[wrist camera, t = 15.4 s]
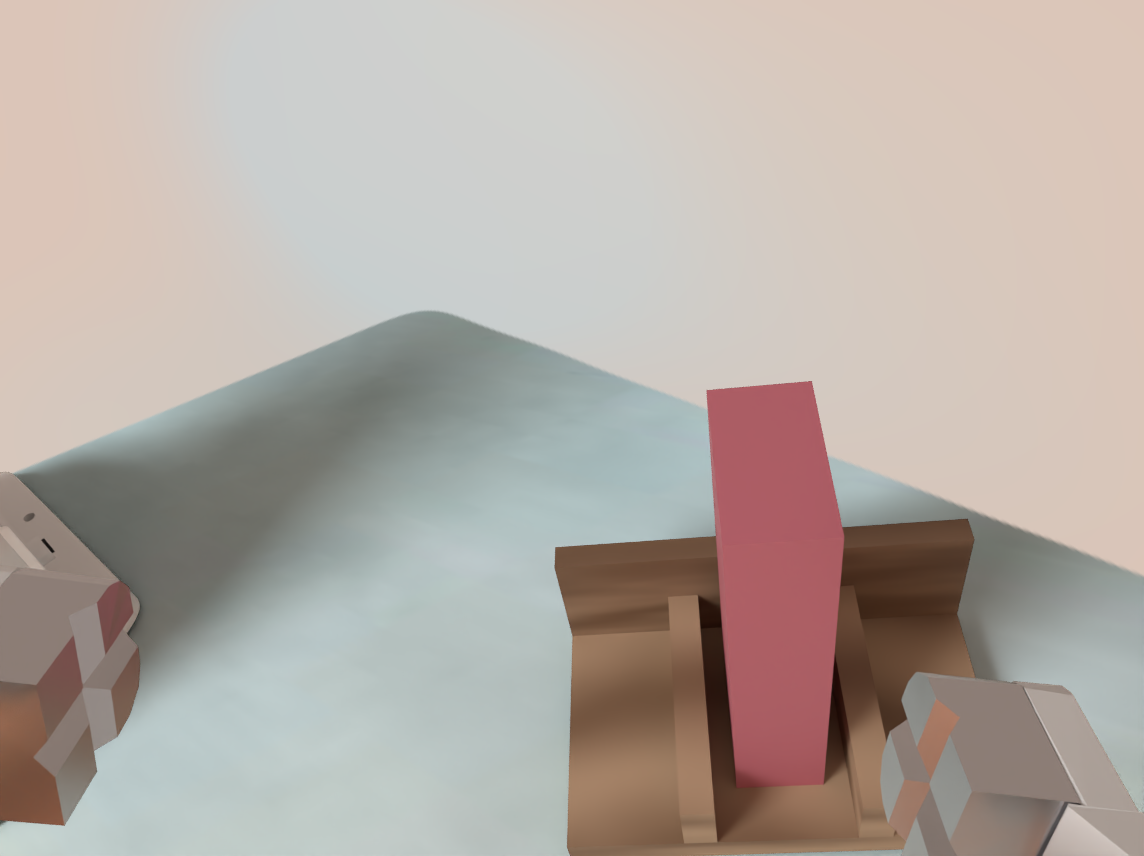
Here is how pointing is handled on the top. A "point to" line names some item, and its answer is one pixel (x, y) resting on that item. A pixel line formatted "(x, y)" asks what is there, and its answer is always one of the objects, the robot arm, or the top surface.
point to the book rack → (700, 700)
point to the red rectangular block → (775, 578)
